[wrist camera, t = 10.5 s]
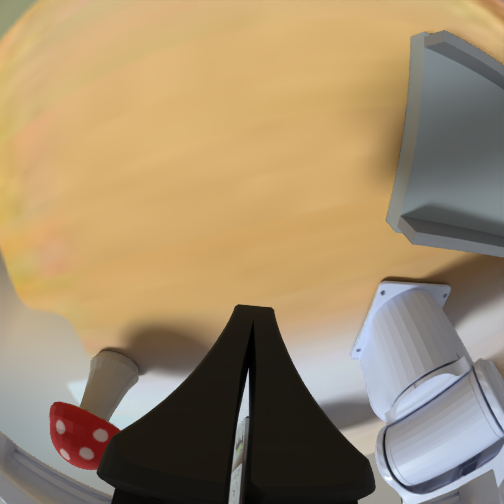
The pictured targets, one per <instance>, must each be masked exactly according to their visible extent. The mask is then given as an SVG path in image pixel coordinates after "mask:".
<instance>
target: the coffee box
mask: <svg viewBox="0 0 504 504" xmlns="http://www.w3.org/2000/svg"><path fill="white" fill-rule="evenodd" d="M248 429H249V418H244V420H243V421H242V422H241V424H240V425H239V426H238V428H237V430H236V439H235V447H234V456H233V465H232V474H231V483H230V492H229V501H228V504H241V497H242V488H243V479H244V470H245V460H246V450H247V440H248Z"/></svg>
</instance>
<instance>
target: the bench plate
mask: <svg viewBox="0 0 504 504" xmlns="http://www.w3.org/2000/svg"><path fill="white" fill-rule="evenodd" d="M386 222H387V223H388V224H389V225H390V226H391V228H392V229H393V230H394V231H395V232H397V233H403V234H404V235H405V236H406V238H407V239H408V240H409V241H410V242H411V243H412V244H415V245H422V246H430V247H437V248H444V249H451V250H458V251H465V252H472V253H478V254H485V255H491V256H497V257H504V66H503V65H502V64H501V63H499V62H498V61H496V60H495V59H493V58H492V57H490V56H489V55H487V54H486V53H484V52H483V51H481V50H479V49H478V48H476V47H474V46H473V45H471V44H469V43H468V42H466V41H464V40H462V39H460V38H459V37H457V36H455V35H453V34H451V33H449V32H447V31H445V30H443V31H440V32H437V33H434V34H431V35H430V34H428V33H426V32H422V33H420V34H417V35H415V36H412V37H411V53H410V74H409V88H408V99H407V108H406V117H405V125H404V132H403V138H402V145H401V151H400V157H399V162H398V168H397V173H396V178H395V183H394V187H393V192H392V196H391V201H390V205H389V209H388V213H387V217H386Z"/></svg>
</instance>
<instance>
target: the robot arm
mask: <svg viewBox="0 0 504 504" xmlns="http://www.w3.org/2000/svg"><path fill="white" fill-rule="evenodd" d="M384 290H385V291H384ZM382 291H384V292H383V293H381V292H382ZM450 292H451V287H450V286H449V285H445V284H428V283H413V282H397V281H382V282H381V283H380V284H379V286H378V289H377V292H376V294H375V297H374V300H373V302H372V305H371V307H370V310H369V312H368V315H367V317H366V320H365V322H364V325H363V327H362V329H361V332H360V334H359V336H358V339H357V341H356V343H355V345H354V348H353V350H352V352H351V354H350V356H351V359H354V360H360V363H361V367H362V371H363V375H364V380H365V384H366V388H367V392H368V397H369V401H370V405H371V407H372V409H373V411H374V412H375V414H376V415H377V416H378V417H379V418H381V419H382V420H383V421H385V422H386V423H387V425H385V426H384V427H383V428H382V429H381V430H380V432H379V434H378V436H377V441H376V448H375V456H376V463H377V466H378V469H379V471H380V473H381V475H382V477H383V478H384V480H385V481H386V482H387V483H388V484H389V485H391V486H392V487H393V488H394V489H395V490H396V491H397V492H398V493H399V495H400V496H401V497H402V499H403V501H404V503H405V504H504V380H503V378H502V376H501V374H500V373H499V371H498V370H497V368H496V367H495V365H494V364H493V363H492V362H491V361H490V360H483V359H482V358H480V359H478V360H477V361H476V362H475V363H474V362H473V361H472V359H471V357H470V355H469V353H468V352H467V350H466V348H465V346H464V344H463V343H462V341H461V339H460V337H459V336H458V334H457V332H456V330H455V329H454V327H453V325H452V324H451V322H450V320H449V319H448V317H447V316H446V314H445V312H444V311H443V309H442V308H443V306H444V304H445V302H446V300H447V298H448V296H449V294H450ZM248 368H249V429H248V440H247V450H246V460H245V470H244V479H243V488H242V497H241V504H358V500H359V499H361V498H364V497H366V496H368V495H370V494H371V493H373V492H374V491H375V488H376V487H375V479H374V475H373V472H372V468H371V465H370V462H369V460H368V459H367V458H366V457H365V456H364V455H363V454H362V453H361V452H359V451H358V450H357V449H356V448H355V447H354V446H353V445H352V444H351V443H350V442H349V441H348V440H347V439H346V438H345V437H344V436H343V434H342V433H341V432H340V431H339V430H338V429H337V428H336V427H335V425H334V424H333V423H332V422H331V421H330V419H329V418H328V417H327V416H326V414H325V413H324V412H323V410H322V409H321V408H320V407H319V405H318V404H317V402H316V401H315V399H314V398H313V397H312V395H311V394H310V392H309V390H308V389H307V387H306V386H305V384H304V382H303V381H302V379H301V377H300V375H299V374H298V372H297V370H296V368H295V366H294V364H293V362H292V360H291V358H290V356H289V353H288V351H287V349H286V346H285V344H284V342H283V339H282V337H281V334H280V331H279V328H278V325H277V321H276V318H275V313H274V310H273V309H272V307H260V306H250V305H239V304H238V305H237V306H235V308H234V311H233V313H232V315H231V317H230V319H229V321H228V323H227V325H226V327H225V328H224V330H223V332H222V333H221V335H220V336H219V338H218V340H217V341H216V343H215V344H214V346H213V347H212V348H211V350H210V351H209V352H208V354H207V355H206V356H205V358H204V359H203V360H202V361H201V363H200V364H199V365H198V366H197V367H196V369H195V370H194V371H193V372H192V373H191V374H190V375H189V376H188V378H187V379H186V380H185V381H184V382H183V383H182V384H181V385H180V386H179V387H178V388H177V389H176V390H174V391H173V392H172V393H171V394H170V395H169V396H168V397H167V398H166V399H165V400H163V401H162V402H161V403H160V404H158V405H157V406H156V407H155V408H153V409H152V410H151V411H149V412H148V413H147V414H146V415H144V416H143V417H142V418H140V419H139V420H137V421H136V422H134V423H133V424H131V425H129V426H128V427H126V428H125V429H123V430H121V431H120V432H118V433H116V434H115V435H113V437H112V438H111V440H110V441H109V443H108V445H107V447H106V449H105V450H104V452H103V455H102V458H101V461H100V463H99V466H98V469H97V475H98V476H99V477H100V478H101V479H102V480H104V481H105V482H107V483H108V484H110V485H111V486H113V487H115V492H114V495H113V496H112V495H109V494H106V493H104V492H101V491H99V490H97V489H94V488H92V487H90V486H88V485H85V484H83V483H81V482H79V481H77V480H75V479H73V478H71V477H69V476H66V475H65V474H63V473H61V472H59V471H57V470H56V469H53V468H52V467H50V466H49V465H47V464H45V463H43V462H42V461H40V460H39V459H37V458H35V457H34V456H32V455H31V454H29V453H27V452H26V451H24V450H23V449H21V448H20V447H19V446H17V445H16V444H15V443H14V442H13V441H12V440H11V439H9V438H8V437H7V436H6V435H4V434H3V433H2V432H1V431H0V498H1V499H2V500H3V501H4V502H5V503H6V504H228V501H229V492H230V483H231V474H232V465H233V456H234V447H235V439H236V430H237V422H238V416H239V411H240V407H241V402H242V397H243V392H244V388H245V383H246V378H247V373H248Z"/></svg>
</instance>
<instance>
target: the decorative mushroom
mask: <svg viewBox="0 0 504 504" xmlns="http://www.w3.org/2000/svg"><path fill="white" fill-rule="evenodd" d="M138 373H139V369H138V367H137V365H136V364H135V363H134V362H133V361H132V360H131V359H129V358H128V357H126V356H124V355H122V354H119V353H117V352H112V351H102V352H99V353H98V354H97V355H96V356H95V357H93V358H92V360H91V365H90V374H89V378H88V382H87V385H86V388H85V392H84V395H83V399H82V402H81V404H80V407H78V406H75V405H72V404H67V403H63V402H54V404H53V405H52V406H51V408H50V413H49V423H50V435H51V439H52V442H53V445H54V446H55V448H56V450H57V451H58V453H59V454H60V455H61V456H62V457H63V458H64V459H65V460H66V461H67V462H69V463H70V464H72V465H74V466H76V467H78V468H82V469H87V470H97V469H98V466H99V463H100V461H101V458H102V455H103V452H104V450H105V449H106V447H107V445H108V443H109V441H110V440H111V438H112V437H113V435H115V434H116V433H118V432H120V431H121V430H119V429H118V428H117V427H116V426H114V425H113V424H111V423H110V422H109V420H110V418H111V416H112V414H113V412H114V411H115V409H116V408H117V406H118V405H119V403H120V402H121V400H122V398H123V397H124V395H125V394H126V393H127V391H128V390H129V389H130V388H131V387H132V386H133V385H135V384H136V383H137V382H138Z"/></svg>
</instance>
